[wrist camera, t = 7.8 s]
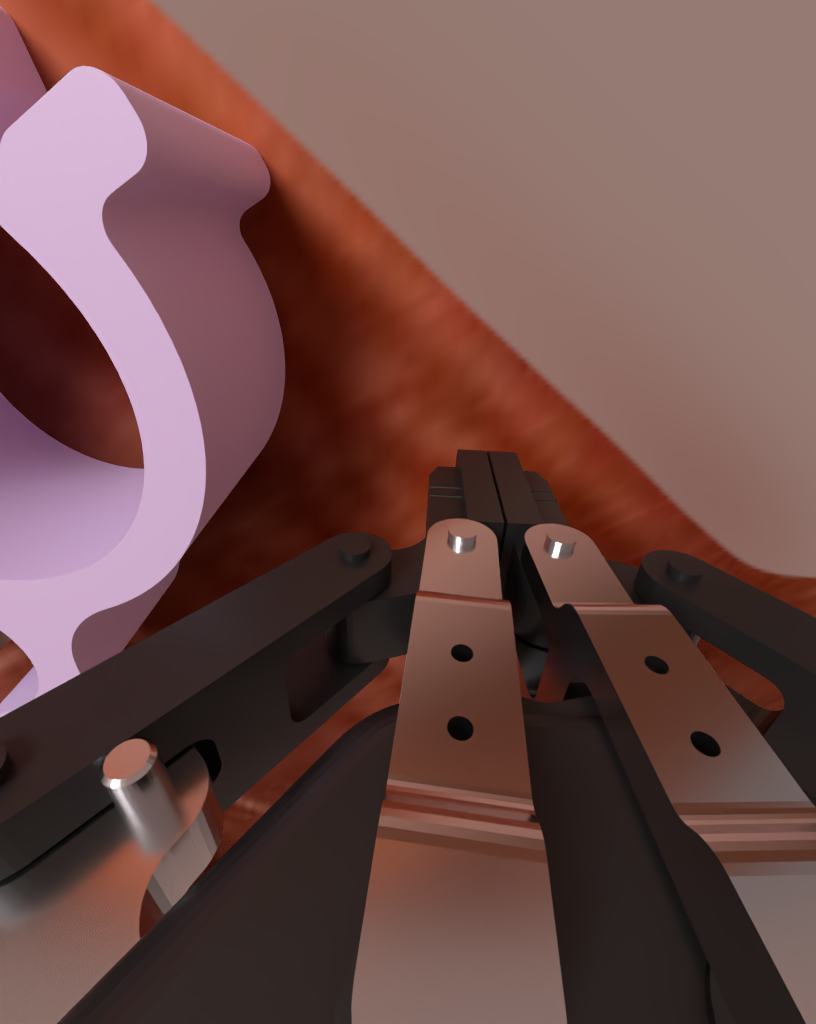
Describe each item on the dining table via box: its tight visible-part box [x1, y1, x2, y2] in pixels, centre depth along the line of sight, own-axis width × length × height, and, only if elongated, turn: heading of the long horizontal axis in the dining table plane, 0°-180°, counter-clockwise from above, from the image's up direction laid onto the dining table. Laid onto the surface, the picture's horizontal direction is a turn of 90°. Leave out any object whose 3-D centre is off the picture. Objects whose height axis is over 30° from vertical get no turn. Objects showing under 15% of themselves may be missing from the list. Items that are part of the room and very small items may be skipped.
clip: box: [0, 6, 285, 717], centre depth 14 cm, size 20×12×7 cm, turn 155°
